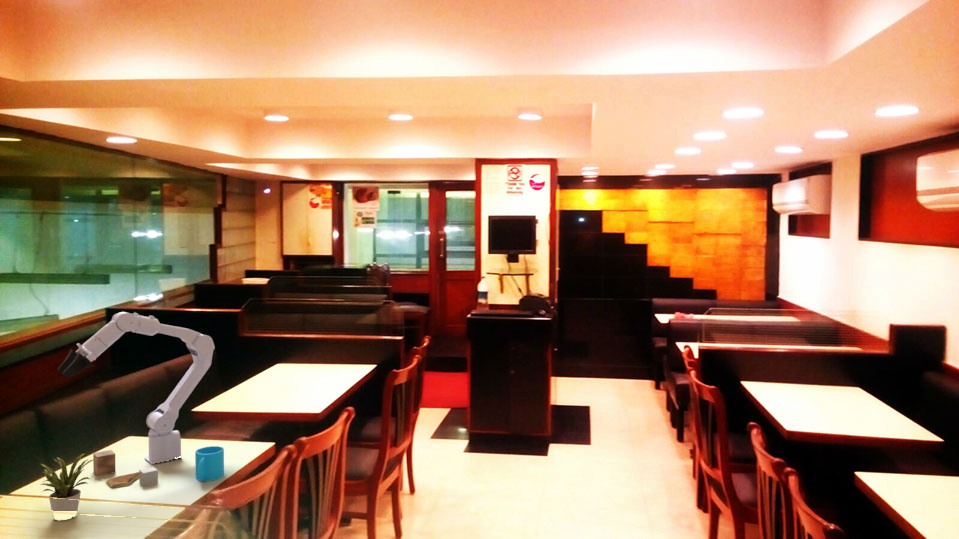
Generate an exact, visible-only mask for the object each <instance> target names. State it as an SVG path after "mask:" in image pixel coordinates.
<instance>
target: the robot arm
mask: <svg viewBox="0 0 959 539" xmlns="http://www.w3.org/2000/svg"><path fill="white" fill-rule="evenodd" d="M111 317H112V318H111V320H110V321H109V322H108V323H107V324H105V325H104V326H103V327H102V328H100V329H99V330H97V332H95V334H93V335H92V336H91V337H90V338H89V339H87V340H86V341H85V342H83V343H82V344H81V343H79V342H78V343H76V346H77V347H78V349H77V350H76V351H74V350H73V349H70V350H69V353H68V355H67V356H66V358H65V360H63V362H62V363H61V364H60V365H59V367H58V369H57V372H59V373H60V374H61V375H63V376H65V378H66V379H69V378H72V377H74V376H75V375H77V374H79V373H80V372H83V371H84V370H87V369H90V368H93V366H94V365H93V364H91V363H92V362H93V361H96V360H97V358H99V356H101V354H102V353H104V352H105V351H106V350H107V349H108V348H109V347H111V346H112V345H113V344H114V343H115V342H116V341H118V340H119V339H120V338H121V337H122V336H123V335H124V334H125V333H126V332H127V333H128V332H132V333H136V334H141V335H145V336H150V337H151V336H155V335H156V334H161V335H162V334H163V335H167V336H170V337H175V338H179V339H181V341H182V342H184V343H185V345H186V347H187V349H188V351H189V352H190V354H191V357H192V360H193V363H192V364H191V365H190V366H189V369H188V370H187V371H186V372H185V374H184V375H183V376H182V378H181V379H180V380H179V382H178V383H177V384H176V386H175V388H174V389H173V390H172V392H170V394H169V395H168V397H167V399H166V400H165V401H164V402H163V403H161V404H159V405H158V406H157V408H156V409H155V410H153V411H151V412H150V413H149V414H148V415H147V417H146V421H145V422H146V425H147V427H148V428H149V431H148V456H145V457H144V460H146V461H147V462H148V461H149V462H150V463H149V462H148V463H149V464H151V465H155V463H157V464H161V463H164V462H163V461H166V462H168V461H167V460H171V461H173V460H172V459H175V457H176V458H177V457H179V456H181V457H182V438H181V437H182V436H181V434H180V433H181V432H180V431H179V430H177V429H176V430H174V428H175V423H176V421H177V419H179V412H180V409H181V408H182V407H183V405H184V404H185V402H186V401H187V399H188V398H189V397H190V395H191V394H192V392H193V391H194V389H195V388H196V386H197V385H198V384H199V382H200V381H201V380H202V378H203V377H204V376H205V374H206V373H207V371H208V370H209V369H210V367H211V365H212V360H213V354H214V350H215V348H216V347H215V343H214V341H213V338H212V337H211V336H210V335H207V334H202V333H201V332H198V331H196V330H193V329H190V328H186V327H181V326H176V325H175V326H174V325H169V324H164V323H160V321H159V319H158V318H156V317H155V316H154V315H149V316H144V315H141V314H139V313H137V312H133V313H130V312H126V311H121V312H118V313H115V314H114V315H112V316H111ZM160 462H161V463H160Z"/></svg>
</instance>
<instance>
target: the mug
mask: <svg viewBox="0 0 959 539" xmlns="http://www.w3.org/2000/svg"><path fill="white" fill-rule="evenodd" d="M224 476H225V449H224V447H222V446H217V445H216V446H215V445H214V446H213V445H212V446H205V447H201V448H198V449H196V450H195V480H197V481H200V482H209V481H215V480H218V479H221V478H223V477H224Z"/></svg>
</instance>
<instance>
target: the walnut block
mask: <svg viewBox="0 0 959 539" xmlns="http://www.w3.org/2000/svg"><path fill="white" fill-rule="evenodd" d="M92 455H93V457H92V458H93V459H97V460H93V459H92V460H93V461H92V462H93V465H92V466H93V473H94V475H96V476H97V477H99V476H105V475H110V474H114V473H116V452H114V451H113V450H111V449H110V450H104V451H98V452H94V453H92Z"/></svg>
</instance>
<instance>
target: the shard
mask: <svg viewBox="0 0 959 539" xmlns="http://www.w3.org/2000/svg"><path fill="white" fill-rule="evenodd" d="M138 479H139V471H137V472H133V473H128V474H123V475H118V476H114V477H109V478H107V479H106V480H105V484H107V485H109V487H110V488H115V487H116V488H117V487H128V486H130V485H131V484H132V483H133V482H134V481H136V480H138Z"/></svg>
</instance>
